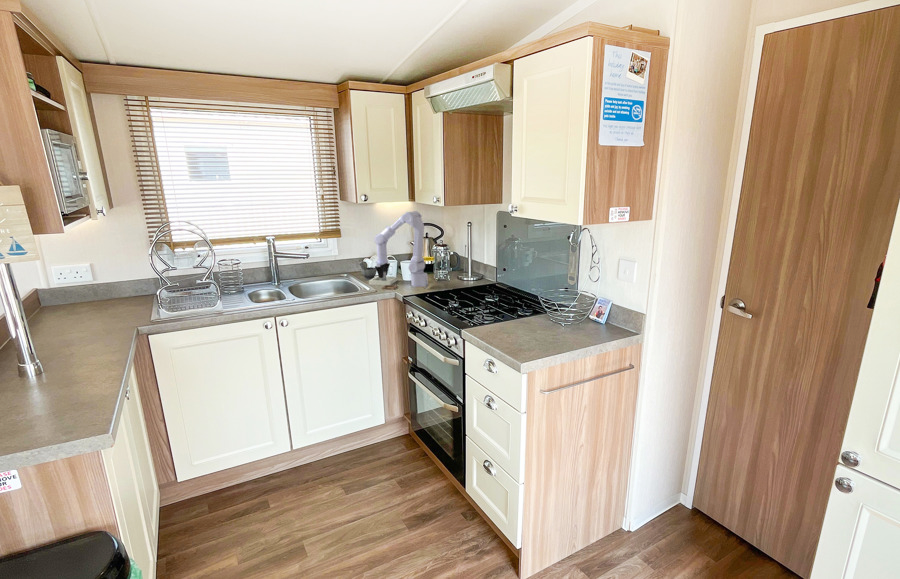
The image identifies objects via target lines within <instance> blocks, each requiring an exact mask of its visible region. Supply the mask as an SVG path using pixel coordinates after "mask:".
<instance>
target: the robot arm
mask: <svg viewBox="0 0 900 579" xmlns="http://www.w3.org/2000/svg"><path fill="white" fill-rule="evenodd" d="M404 224H407V225H409V226H411V227H412V228H413V231H414V232H413V246H412V249H413V250H412V257H411V259H410V262H409V264H408V270H409V272H410V279H411V285H410V286H411V287H415V288H419V287H420V288H421V287H422V288H423V289H424V290H426V289H427V288H428V287H429V280H428V276H429V275H428V273H427V272H424V270H425V268H426V264H425V263H426V262H425V257H423V249H424V248H423V247H424V235H425V225H424V224H425V223H424V221H423V219H422V214H421V213H420V212H419V211H417V210H413V211H406V212H405V213H403V214H402V215H401V216H400V217H399V218H398V219H397V220H396V221H395V222H394V223H392V225H389V226H385V229H384V230H382V231H380V232H379V234H376V235H375V236H374V238H373V239H374V243H376V256H377V257H376V258H377V260H376V261H375V263H376V265H375V266H374V268H375V269H376V270H377V272H376V273H377V274H378V275H377V276H379V278H383V272H386V276H388V271H389V268H390V265H391V263H389V259H388V254H387V252H388V251H387V250H388V249H387V243H388V241H389V240H390V238H392V237H393V236H395V234H396V231H397V230H398V229H399V228H401V227H402V226H403V225H404Z"/></svg>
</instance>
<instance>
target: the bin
mask: <svg viewBox="0 0 900 579" xmlns="http://www.w3.org/2000/svg"><path fill="white" fill-rule="evenodd" d="M386 280H387V281H381V278H379V276H378V275H375V276H374V278H373V279H371V280H368V285H370V286H371V285H372V286H373V285H376V286H377V285H378V286H385V285H394V283H395V282H397V281H398V276H388V275H386Z"/></svg>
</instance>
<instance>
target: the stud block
mask: <svg viewBox="0 0 900 579" xmlns="http://www.w3.org/2000/svg"><path fill="white" fill-rule="evenodd" d="M397 288H398V285H395V284H391V285H383V286H382V287H381V290H385V291H386V290H387V291H388V290H390V291H394V290H396V289H397Z"/></svg>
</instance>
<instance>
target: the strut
mask: <svg viewBox="0 0 900 579" xmlns="http://www.w3.org/2000/svg"><path fill="white" fill-rule="evenodd" d="M386 276H387V275H386V272H383V278H381V280H380V281H387V280H386Z"/></svg>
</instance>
